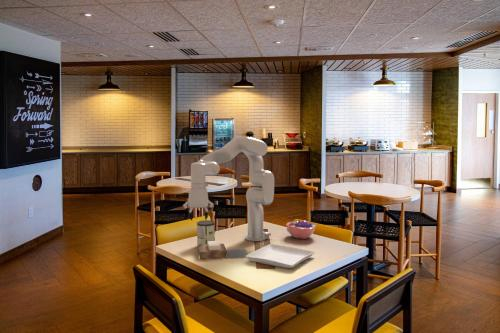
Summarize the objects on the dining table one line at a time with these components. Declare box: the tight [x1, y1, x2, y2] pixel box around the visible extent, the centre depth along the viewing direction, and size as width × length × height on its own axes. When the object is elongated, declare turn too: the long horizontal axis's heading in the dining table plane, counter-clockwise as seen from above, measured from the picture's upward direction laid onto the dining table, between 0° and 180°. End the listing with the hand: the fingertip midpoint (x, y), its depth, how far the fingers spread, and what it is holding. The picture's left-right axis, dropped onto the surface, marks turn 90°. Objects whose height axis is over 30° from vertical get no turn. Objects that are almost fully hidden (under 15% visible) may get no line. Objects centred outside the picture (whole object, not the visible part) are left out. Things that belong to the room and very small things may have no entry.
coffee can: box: [196, 219, 216, 248], centre depth 245 cm, size 10×10×14 cm
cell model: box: [285, 219, 317, 240], centre depth 264 cm, size 17×20×11 cm
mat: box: [226, 248, 249, 259], centre depth 232 cm, size 11×15×1 cm
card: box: [208, 240, 221, 250], centre depth 229 cm, size 6×9×2 cm, turn 10°
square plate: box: [245, 243, 316, 269], centre depth 222 cm, size 27×27×4 cm
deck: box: [197, 243, 228, 261], centre depth 229 cm, size 14×14×4 cm
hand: (198, 219), depth 226 cm, fingers open, 6 cm apart
